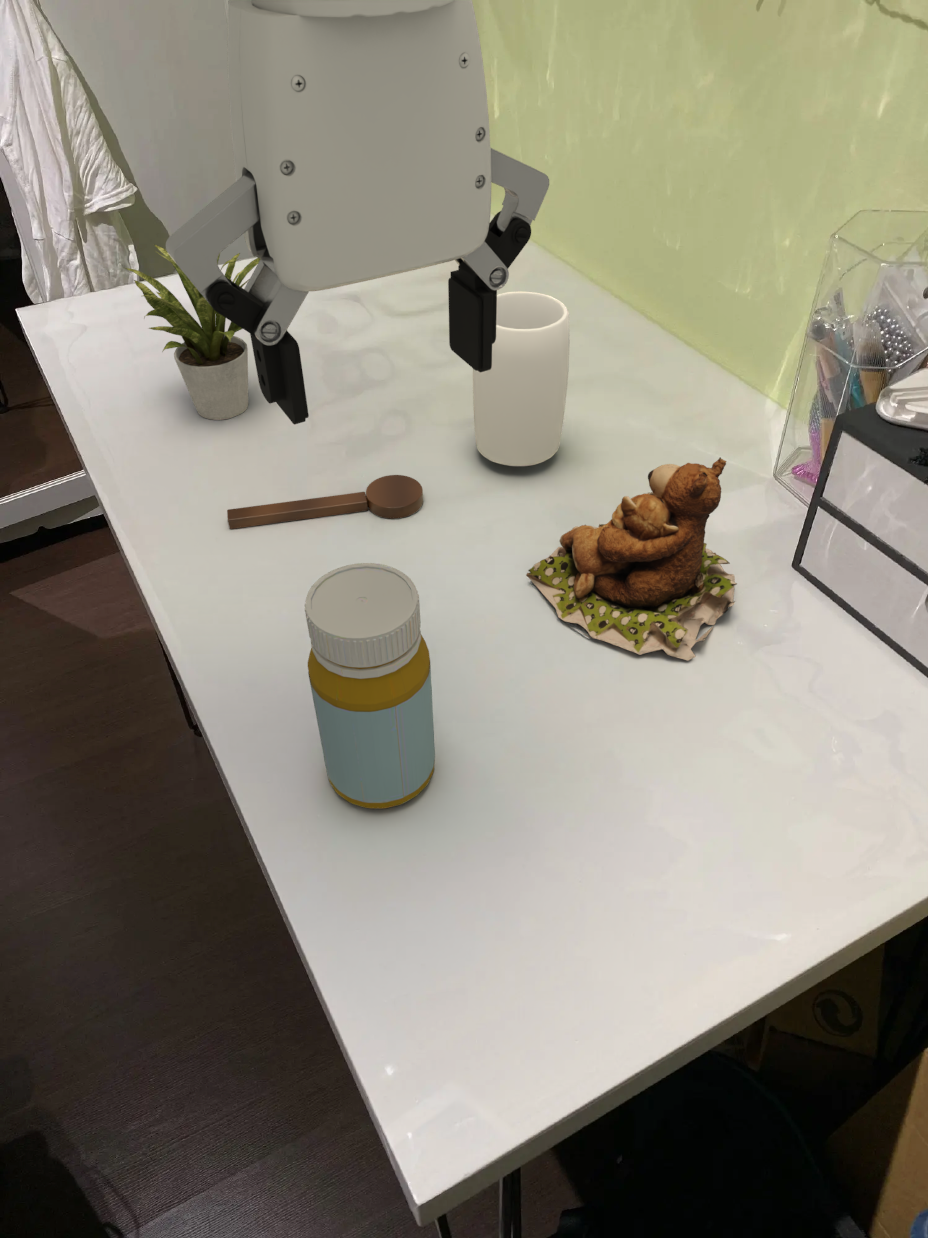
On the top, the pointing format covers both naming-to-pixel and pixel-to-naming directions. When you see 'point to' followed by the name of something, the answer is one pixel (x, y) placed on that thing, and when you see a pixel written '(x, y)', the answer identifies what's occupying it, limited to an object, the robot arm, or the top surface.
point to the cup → (523, 381)
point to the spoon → (339, 504)
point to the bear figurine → (645, 567)
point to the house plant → (204, 344)
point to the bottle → (371, 684)
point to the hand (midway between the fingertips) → (383, 384)
